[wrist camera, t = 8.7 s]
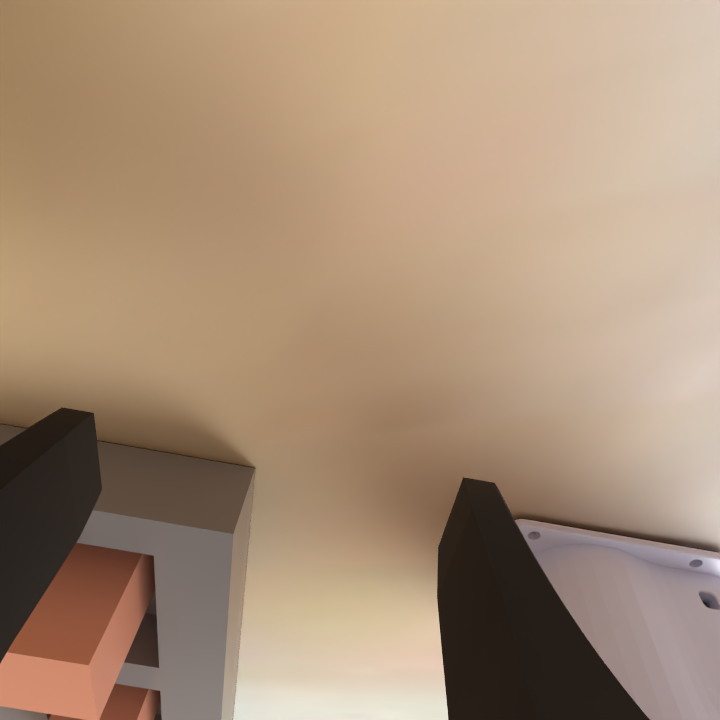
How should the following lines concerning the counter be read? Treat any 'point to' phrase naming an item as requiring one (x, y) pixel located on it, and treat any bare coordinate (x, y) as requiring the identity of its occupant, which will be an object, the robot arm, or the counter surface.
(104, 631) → the plug
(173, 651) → the dock
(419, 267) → the counter surface
